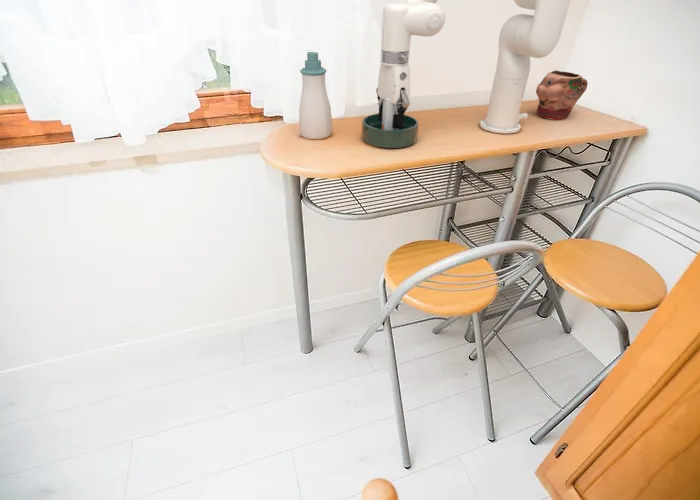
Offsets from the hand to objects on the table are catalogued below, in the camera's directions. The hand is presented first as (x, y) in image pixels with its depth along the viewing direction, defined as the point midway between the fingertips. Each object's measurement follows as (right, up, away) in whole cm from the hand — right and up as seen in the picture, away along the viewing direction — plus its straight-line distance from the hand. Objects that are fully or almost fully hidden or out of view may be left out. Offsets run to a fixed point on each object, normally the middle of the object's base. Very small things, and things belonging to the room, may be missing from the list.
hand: (390, 123), depth 116 cm
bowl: (0, -4, +3) cm, 5 cm away
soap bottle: (-22, -2, +6) cm, 23 cm away
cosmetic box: (0, -4, +3) cm, 4 cm away
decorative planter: (+60, +10, +23) cm, 65 cm away
